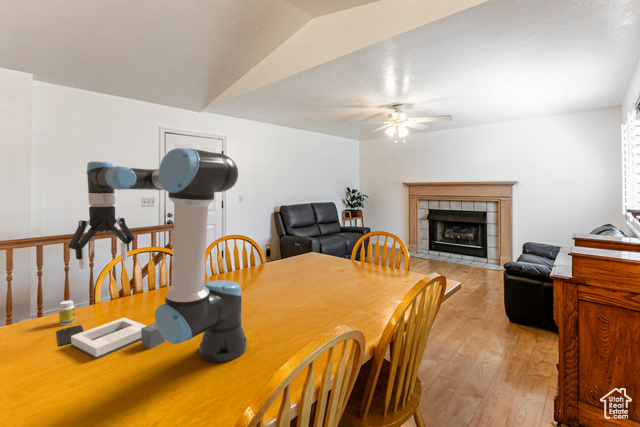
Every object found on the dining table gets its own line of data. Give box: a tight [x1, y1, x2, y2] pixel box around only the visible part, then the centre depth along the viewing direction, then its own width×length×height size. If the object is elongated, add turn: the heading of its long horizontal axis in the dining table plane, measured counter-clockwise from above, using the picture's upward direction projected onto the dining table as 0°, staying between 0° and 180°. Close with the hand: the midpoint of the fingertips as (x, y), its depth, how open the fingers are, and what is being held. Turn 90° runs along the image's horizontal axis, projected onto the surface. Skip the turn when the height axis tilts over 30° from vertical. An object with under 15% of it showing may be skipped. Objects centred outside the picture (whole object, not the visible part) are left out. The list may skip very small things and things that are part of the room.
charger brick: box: [141, 322, 166, 350], centre depth 102 cm, size 5×5×6 cm
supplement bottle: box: [58, 299, 76, 326], centre depth 116 cm, size 5×5×8 cm
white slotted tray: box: [70, 317, 147, 360], centre depth 103 cm, size 16×17×4 cm
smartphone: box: [56, 324, 85, 347], centre depth 107 cm, size 7×1×15 cm
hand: (104, 264), depth 107 cm, fingers open, 13 cm apart
